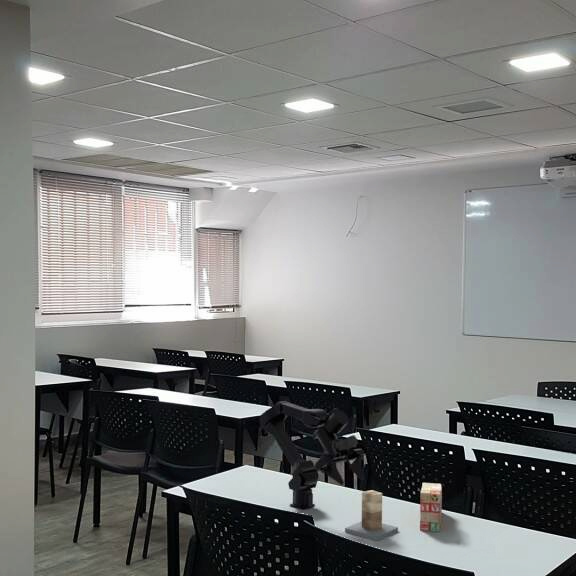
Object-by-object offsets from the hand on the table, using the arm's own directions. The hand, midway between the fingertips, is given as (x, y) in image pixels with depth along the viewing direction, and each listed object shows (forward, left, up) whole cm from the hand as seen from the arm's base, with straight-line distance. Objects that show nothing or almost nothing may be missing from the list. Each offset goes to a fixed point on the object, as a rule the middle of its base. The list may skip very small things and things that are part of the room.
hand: (352, 481), depth 234 cm
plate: (+9, -2, -14) cm, 16 cm away
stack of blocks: (+18, +20, -14) cm, 30 cm away
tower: (+9, -2, -12) cm, 15 cm away
